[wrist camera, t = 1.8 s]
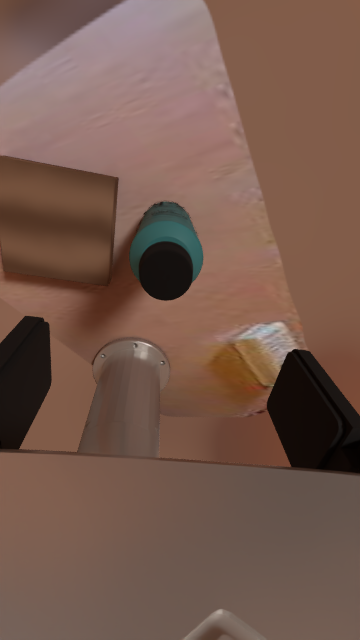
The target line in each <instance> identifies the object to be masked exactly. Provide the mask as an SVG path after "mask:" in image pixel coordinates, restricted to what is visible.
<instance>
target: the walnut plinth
mask: <svg viewBox="0 0 360 640" xmlns="http://www.w3.org/2000/svg"><path fill="white" fill-rule="evenodd" d="M117 191H118V177H113V176H107V175H102V174H97V173H92V172H87V171H81V170H76V169H71V168H66V167H60V166H55V165H50V164H45V163H40V162H34V161H29V160H24V159H19V158H14V157H8V156H0V242H1V251H2V260H3V269H4V271H6V272H13V273H20V274H27V275H34V276H41V277H48V278H54V279H61V280H68V281H75V282H82V283H89V284H96V285H103V286H108V284H109V282H110V280H111V276H112V262H113V248H114V234H115V220H116V205H117Z"/></svg>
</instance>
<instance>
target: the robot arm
mask: <svg viewBox="0 0 360 640" xmlns="http://www.w3.org/2000/svg"><path fill="white" fill-rule="evenodd" d="M93 376H94V379H95V381H96V383H97V388H96V391H95V394H94V398H93V401H92V404H91V408H90V411H89V414H88V418H87V421H86V425H85V428H84V431H83V434H82V437H81V441H80V444H79V448H78V451H77V452H63V451H44V450H22V449H19V448H20V446H21V444H22V442H23V440H24V438H25V436H26V434H27V432H28V430H29V428H30V426H31V424H32V422H33V420H34V418H35V416H36V414H37V412H38V410H39V409H40V407H41V405H42V403H43V401H44V399H45V397H46V395H47V393H48V391H49V389H50V386H51V357H50V331H49V323H48V322H44V319H43V318H41V317H33V316H25V317H24V318H23V319H22V320H21V321H20V322H19V323H18V324H17V326H16V327H15V328H14V329H13V330H12V331H11V332H10V333H9V334H8V335H7V336H6V338H5V339H4V340H3V341H2V342H1V343H0V640H360V416H359V414H358V413H357V412H356V410H355V409H354V408H353V407H352V405H351V404H350V403H349V401H348V400H347V399H346V398H345V397H344V395H343V394H342V392H341V391H340V390H339V389H338V387H337V386H336V385H335V383H334V382H333V381H332V380H331V378H330V377H329V376H328V374H327V373H326V372H325V370H324V369H323V368H322V367H321V365H320V364H319V363H318V361H317V360H316V359H315V358H314V356H313V355H312V354H311V352H309V351H306V350H298V349H294V350H292V351H291V352H289V353H288V354H287V355H286V358H285V360H284V363H283V365H282V367H281V370H280V372H279V375H278V377H277V379H276V382H275V384H274V386H273V389H272V391H271V394H270V396H269V398H268V401H267V409H268V412H269V414H270V417H271V419H272V422H273V424H274V426H275V429H276V431H277V433H278V436H279V438H280V440H281V443H282V445H283V448H284V450H285V453H286V454H287V457H288V460H289V462H290V464H291V467H282V466H269V465H256V464H243V463H229V462H214V461H201V460H186V459H172V458H159V429H160V423H159V422H160V392H161V391H162V390H163V389H164V388H165V386H166V384H167V383H168V380H169V376H170V365H169V362H168V359H167V357H166V355H165V354H164V353H163V351H162V350H161V349H160V348H158V347H157V346H156V345H154V344H153V343H151V342H149V341H146V340H143V339H138V338H123V339H118V340H115V341H112V342H110V343H108V344H107V345H105V346H104V347H103V348H102V349H101V350H100V351H99V352H98V354H97V356H96V358H95V360H94V364H93Z"/></svg>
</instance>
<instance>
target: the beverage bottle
mask: <svg viewBox="0 0 360 640" xmlns="http://www.w3.org/2000/svg"><path fill="white" fill-rule="evenodd" d="M164 201H168V200H164ZM183 208H184V207H181V206H179V205H178V203H177V204H176V203H174V202H173V203H172V201H171V202H160V203H157V204H154V205H152V207H151V208H150V209H149V210H147V212H145V213H146V214H145V213H144V218H143V220H142V222H141V221H140V222H141V224H140V223H139V224H140V227H139V229H138V231H136V232H137V234H136V236H135V238H134V239H133V242H132V244H131V247H130V253H129V260H130V265H131V269H132V271H133V273H134V275H135V276H136V278H137V279H138V280H139V281H140V283H141V285H142V287H143V288H144V290H145V291H146V292H147V293H148V294H149V295H150V296H152V297H154V298H156V299H159V300H173V299H176V298H179V297H180V296H182V295H183V294H184V293H185V292H186V291H187V290H188V289H189V287H190V285H191V283H192V282H193V281H194V280H195V279H196V278H197V276H198V274H199V273H200V270H201V268H202V264H203V250H202V246H201V244H200V241H199V239H198V237H197V235H196V233H197V232H195V230H194V227H193V225H192V223H191V220H190V218H191V217H190V218H189V216H190V215H189V216H188V214H187V213H188V212H186V211H185V210H184V209H183ZM195 229H196V228H195Z"/></svg>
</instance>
